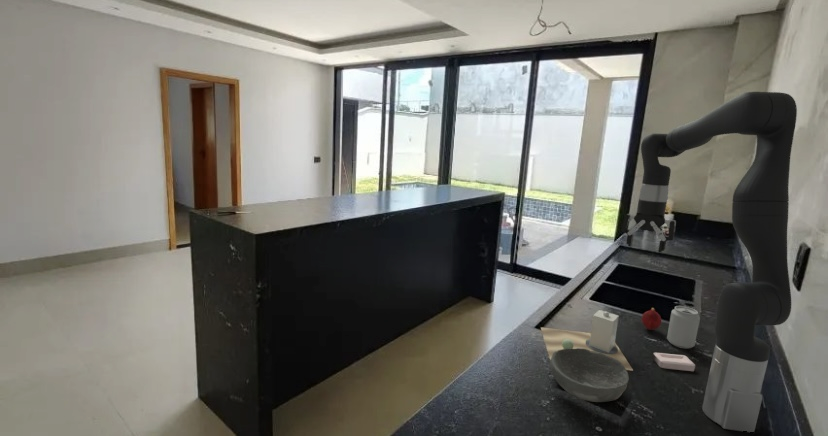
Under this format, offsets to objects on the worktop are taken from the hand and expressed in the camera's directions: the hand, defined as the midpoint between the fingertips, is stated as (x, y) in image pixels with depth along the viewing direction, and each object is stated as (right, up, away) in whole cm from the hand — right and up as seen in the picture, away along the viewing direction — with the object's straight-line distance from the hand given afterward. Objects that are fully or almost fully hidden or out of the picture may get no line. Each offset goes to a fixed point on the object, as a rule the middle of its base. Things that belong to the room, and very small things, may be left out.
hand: (644, 249), depth 122 cm
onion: (+8, -29, +10) cm, 32 cm away
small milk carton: (-16, -29, -5) cm, 34 cm away
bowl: (-30, -35, -25) cm, 52 cm away
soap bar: (+2, -33, -10) cm, 35 cm away
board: (-23, -31, -5) cm, 39 cm away
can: (+12, -31, +2) cm, 33 cm away
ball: (-28, -30, -8) cm, 41 cm away
